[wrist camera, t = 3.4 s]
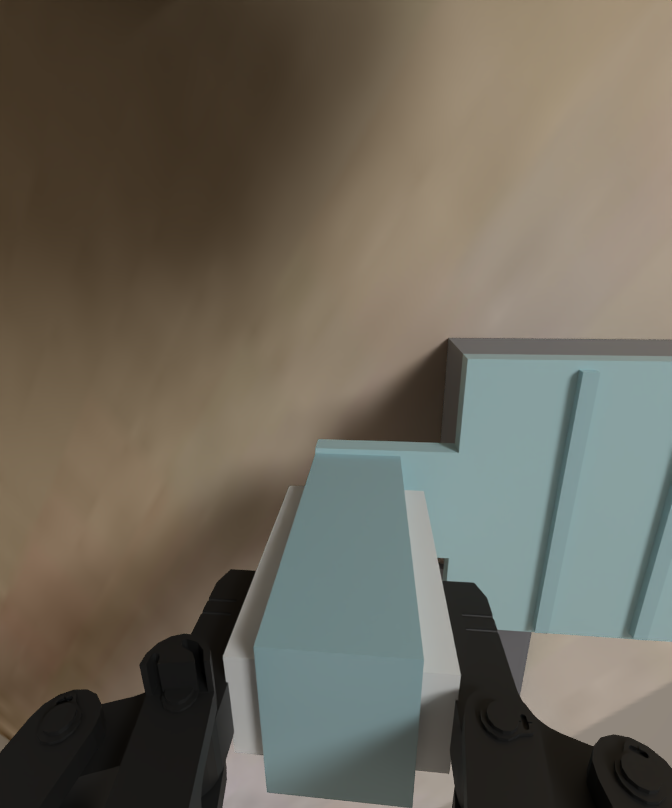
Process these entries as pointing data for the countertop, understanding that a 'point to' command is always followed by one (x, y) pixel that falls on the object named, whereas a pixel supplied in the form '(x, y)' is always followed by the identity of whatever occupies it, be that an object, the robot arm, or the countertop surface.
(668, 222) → the countertop surface
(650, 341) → the tub
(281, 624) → the pale blue ridged block
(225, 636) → the robot arm
